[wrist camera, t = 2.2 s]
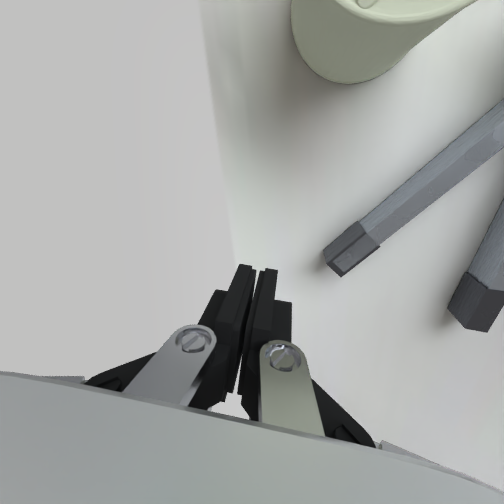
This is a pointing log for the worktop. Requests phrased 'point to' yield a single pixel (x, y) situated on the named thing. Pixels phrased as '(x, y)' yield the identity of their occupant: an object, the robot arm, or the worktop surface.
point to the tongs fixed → (483, 281)
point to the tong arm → (419, 192)
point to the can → (364, 33)
